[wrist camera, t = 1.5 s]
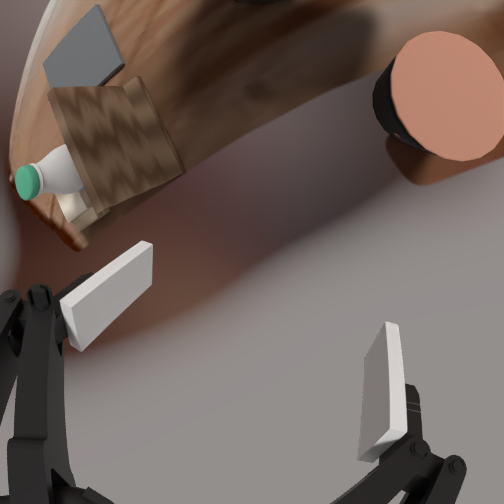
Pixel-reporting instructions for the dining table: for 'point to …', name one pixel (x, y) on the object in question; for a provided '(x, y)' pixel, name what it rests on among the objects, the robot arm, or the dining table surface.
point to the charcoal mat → (84, 54)
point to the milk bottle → (49, 176)
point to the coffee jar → (442, 97)
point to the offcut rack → (111, 146)
